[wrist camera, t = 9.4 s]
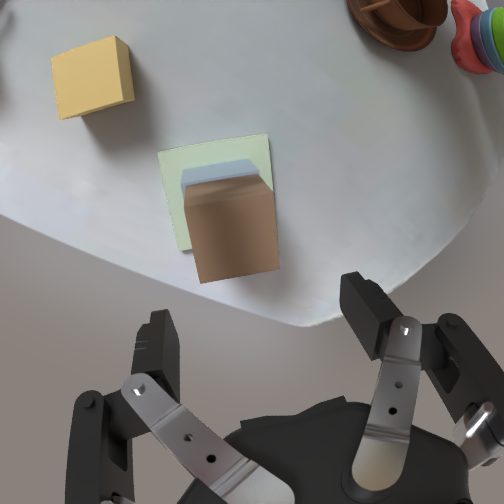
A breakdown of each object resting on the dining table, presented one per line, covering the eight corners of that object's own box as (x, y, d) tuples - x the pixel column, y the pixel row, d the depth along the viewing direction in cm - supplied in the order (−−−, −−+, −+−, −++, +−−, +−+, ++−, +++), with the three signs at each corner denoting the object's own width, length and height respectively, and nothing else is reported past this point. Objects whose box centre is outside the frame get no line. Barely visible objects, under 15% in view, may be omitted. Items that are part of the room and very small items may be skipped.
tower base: (265, 133, 27) (282, 141, 22) (275, 230, 32) (291, 256, 27) (158, 151, 26) (149, 163, 21) (179, 247, 31) (177, 278, 26)
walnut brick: (257, 173, 23) (273, 192, 19) (264, 238, 26) (279, 269, 21) (185, 185, 22) (183, 207, 18) (198, 249, 25) (200, 283, 21)
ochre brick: (128, 45, 21) (114, 35, 16) (135, 100, 23) (123, 100, 19) (73, 63, 20) (51, 57, 16) (81, 116, 23) (59, 120, 19)
